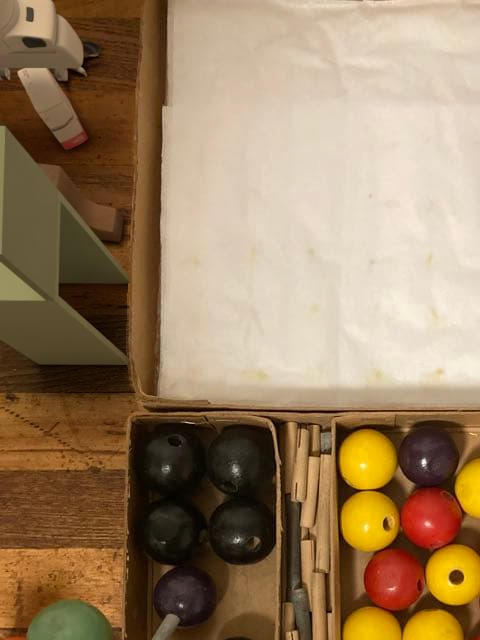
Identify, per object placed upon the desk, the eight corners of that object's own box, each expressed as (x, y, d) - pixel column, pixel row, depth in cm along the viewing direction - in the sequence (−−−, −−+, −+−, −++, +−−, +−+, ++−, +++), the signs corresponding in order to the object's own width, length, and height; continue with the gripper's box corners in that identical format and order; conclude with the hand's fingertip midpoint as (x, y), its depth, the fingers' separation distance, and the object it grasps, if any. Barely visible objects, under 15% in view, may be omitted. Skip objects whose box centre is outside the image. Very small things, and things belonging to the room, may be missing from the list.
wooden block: (124, 218, 151) (88, 168, 133) (121, 243, 151) (84, 195, 133) (75, 212, 151) (32, 161, 133) (71, 236, 151) (28, 188, 133)
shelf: (38, 364, 149) (-134, 253, 101) (40, 276, 150) (-128, 124, 102) (128, 364, 150) (1, 254, 101) (130, 277, 151) (5, 125, 102)
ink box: (89, 140, 152) (64, 102, 140) (65, 152, 152) (37, 115, 140) (69, 99, 153) (41, 57, 141) (44, 110, 152) (15, 70, 141)
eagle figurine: (81, 97, 151) (111, 56, 150) (48, 68, 146) (79, 24, 144) (67, 85, 156) (96, 45, 155) (33, 56, 150) (63, 14, 149)
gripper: (-78, 40, 124) (-30, 95, 138) (61, 40, 124) (95, 95, 138) (-76, -2, 124) (-29, 57, 138) (62, -1, 124) (96, 58, 138)
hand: (34, 76), depth 138 cm, fingers open, 8 cm apart
